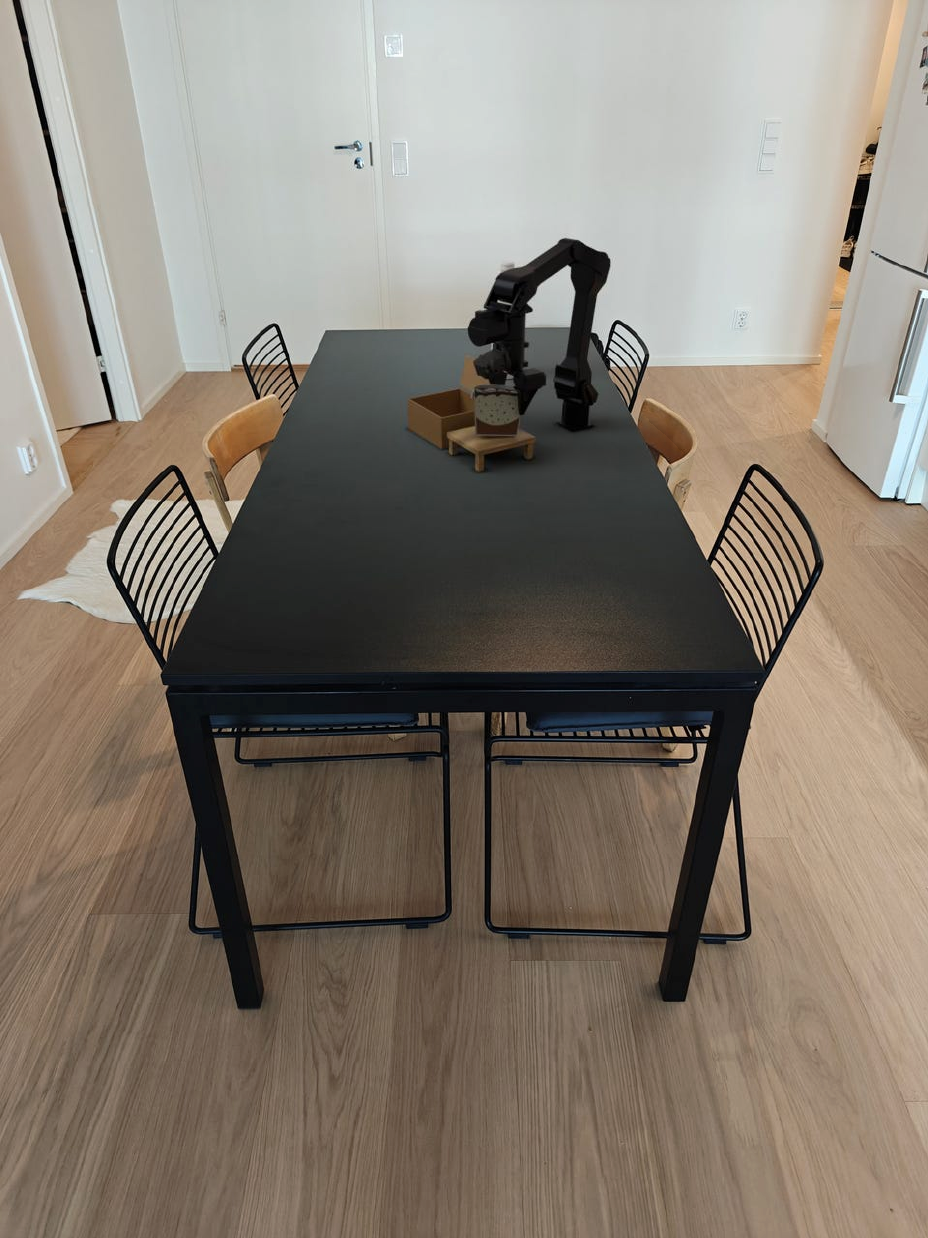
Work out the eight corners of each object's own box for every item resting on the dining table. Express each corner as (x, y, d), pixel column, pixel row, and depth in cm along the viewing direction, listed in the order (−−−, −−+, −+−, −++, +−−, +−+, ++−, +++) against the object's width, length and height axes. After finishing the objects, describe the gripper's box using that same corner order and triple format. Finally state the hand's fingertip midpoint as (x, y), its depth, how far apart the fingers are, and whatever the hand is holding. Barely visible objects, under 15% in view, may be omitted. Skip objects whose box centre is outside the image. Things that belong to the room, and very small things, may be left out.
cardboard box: (460, 417, 209) (460, 387, 205) (495, 436, 198) (495, 406, 194) (408, 428, 203) (407, 398, 199) (441, 449, 192) (441, 418, 188)
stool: (534, 458, 187) (535, 437, 184) (478, 472, 180) (478, 450, 178) (501, 440, 196) (502, 419, 194) (447, 453, 190) (446, 432, 187)
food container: (517, 429, 190) (521, 384, 185) (523, 436, 184) (527, 389, 180) (464, 428, 187) (466, 383, 183) (469, 435, 182) (471, 388, 178)
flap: (459, 385, 205) (460, 385, 205) (495, 403, 194) (496, 403, 194) (466, 355, 202) (467, 355, 202) (502, 371, 191) (504, 371, 191)
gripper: (455, 332, 180) (456, 403, 188) (504, 353, 166) (503, 428, 175) (498, 325, 184) (497, 394, 193) (549, 345, 171) (546, 418, 180)
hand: (509, 408), depth 185 cm, fingers open, 9 cm apart
